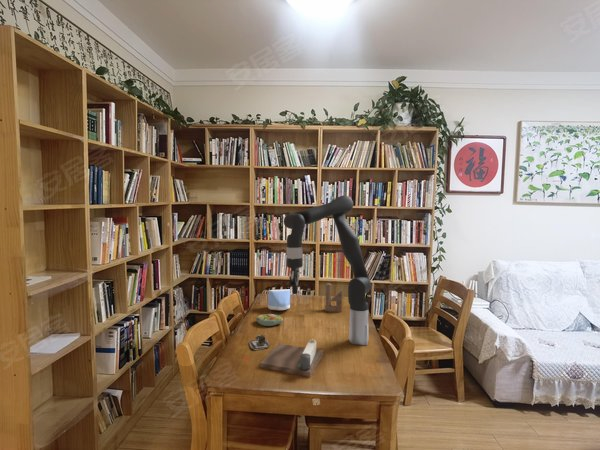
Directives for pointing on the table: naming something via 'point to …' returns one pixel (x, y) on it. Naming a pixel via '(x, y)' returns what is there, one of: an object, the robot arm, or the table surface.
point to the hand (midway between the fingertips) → (294, 293)
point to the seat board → (289, 360)
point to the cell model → (269, 319)
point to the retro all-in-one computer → (279, 299)
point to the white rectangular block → (308, 355)
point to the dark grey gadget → (259, 343)
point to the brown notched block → (336, 298)
